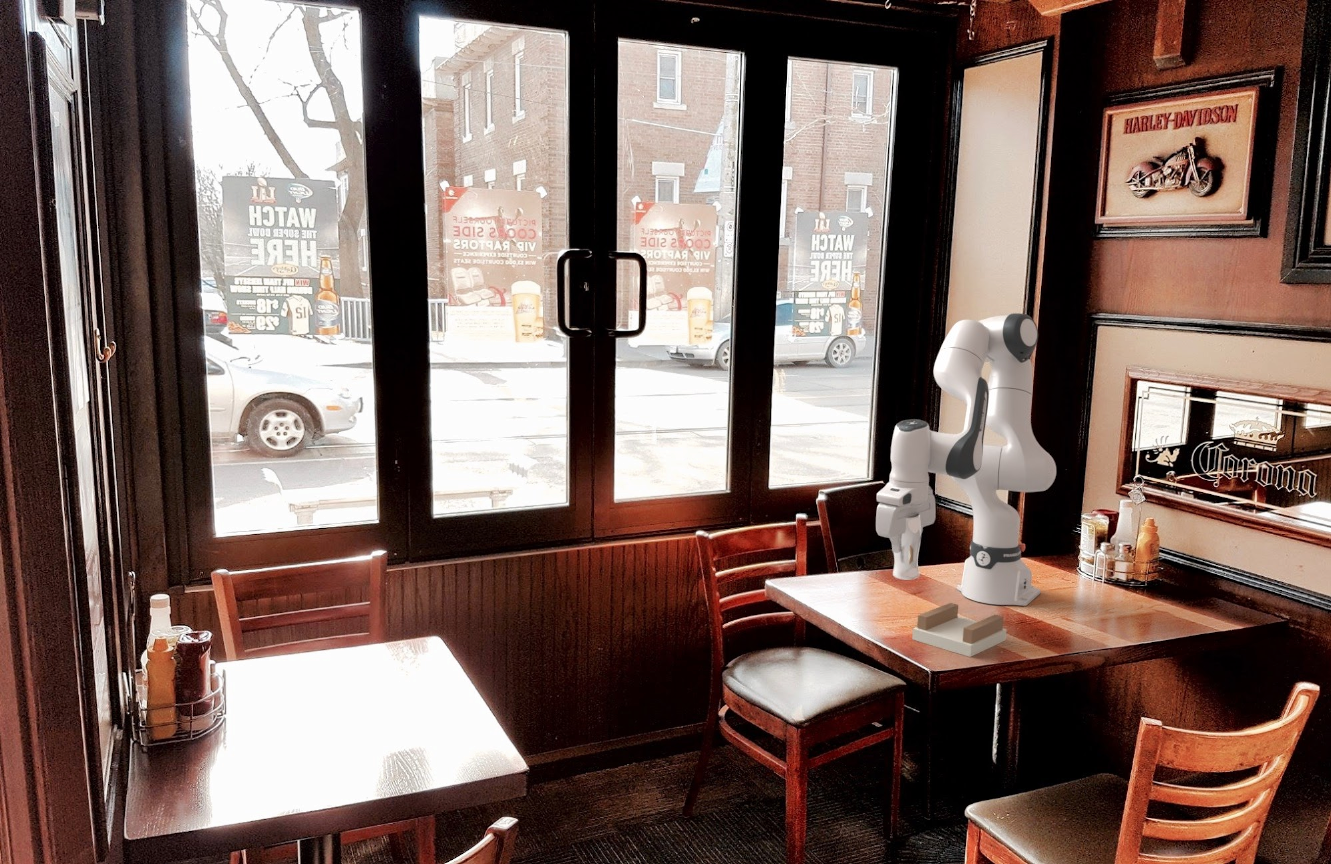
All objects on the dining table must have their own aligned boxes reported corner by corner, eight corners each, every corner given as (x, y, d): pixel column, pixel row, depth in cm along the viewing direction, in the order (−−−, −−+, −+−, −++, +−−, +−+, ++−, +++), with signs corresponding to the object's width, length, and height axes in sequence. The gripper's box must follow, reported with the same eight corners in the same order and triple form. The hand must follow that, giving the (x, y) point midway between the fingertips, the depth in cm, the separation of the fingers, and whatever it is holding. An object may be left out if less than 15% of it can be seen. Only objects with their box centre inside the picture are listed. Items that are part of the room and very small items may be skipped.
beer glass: (921, 581, 226) (921, 518, 223) (890, 580, 228) (889, 518, 225) (921, 570, 233) (920, 509, 230) (891, 569, 235) (890, 509, 232)
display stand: (949, 624, 230) (950, 601, 229) (1005, 640, 220) (1007, 616, 219) (912, 639, 219) (913, 615, 218) (970, 657, 209) (972, 632, 208)
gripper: (920, 481, 236) (917, 537, 239) (872, 495, 222) (869, 554, 224) (944, 486, 232) (940, 543, 234) (896, 500, 218) (893, 560, 220)
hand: (905, 548), depth 229 cm, fingers closed on beer glass, 6 cm apart
